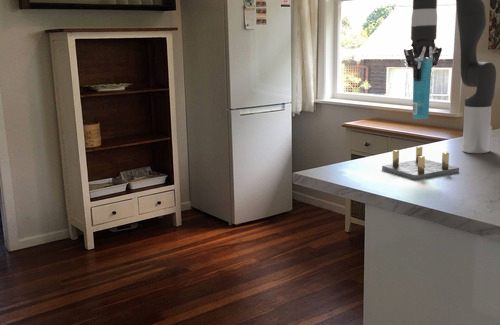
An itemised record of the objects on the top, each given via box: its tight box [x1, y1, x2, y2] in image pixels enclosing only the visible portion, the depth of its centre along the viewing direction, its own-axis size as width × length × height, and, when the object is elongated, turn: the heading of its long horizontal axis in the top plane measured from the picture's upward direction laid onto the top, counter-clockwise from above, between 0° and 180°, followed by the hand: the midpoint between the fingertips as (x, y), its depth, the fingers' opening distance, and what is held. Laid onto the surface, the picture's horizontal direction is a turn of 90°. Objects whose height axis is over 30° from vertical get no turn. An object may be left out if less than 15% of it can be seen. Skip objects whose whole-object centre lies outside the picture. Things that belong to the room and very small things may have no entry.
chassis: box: [381, 146, 460, 181], centre depth 176 cm, size 18×16×6 cm
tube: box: [412, 58, 433, 120], centre depth 171 cm, size 7×5×19 cm, turn 39°
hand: (421, 80), depth 171 cm, fingers closed on tube, 3 cm apart
